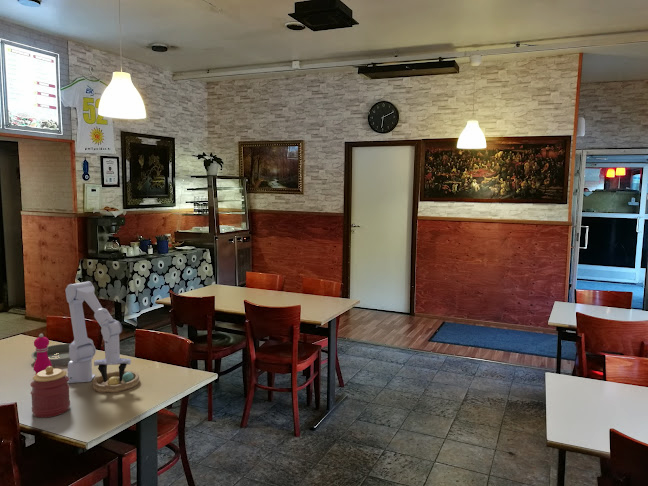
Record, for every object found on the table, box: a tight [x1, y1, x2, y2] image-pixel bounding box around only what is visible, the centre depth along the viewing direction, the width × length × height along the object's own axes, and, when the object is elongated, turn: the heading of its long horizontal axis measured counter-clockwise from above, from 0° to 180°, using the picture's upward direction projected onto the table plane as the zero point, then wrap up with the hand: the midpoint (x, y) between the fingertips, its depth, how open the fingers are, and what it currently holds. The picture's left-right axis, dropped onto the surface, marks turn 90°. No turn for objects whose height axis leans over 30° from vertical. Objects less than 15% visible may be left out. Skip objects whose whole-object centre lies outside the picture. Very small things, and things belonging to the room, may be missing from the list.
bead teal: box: [123, 372, 134, 383], centre depth 216 cm, size 5×5×5 cm
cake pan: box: [31, 343, 82, 367], centre depth 247 cm, size 25×25×4 cm
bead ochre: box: [108, 377, 119, 385], centre depth 211 cm, size 5×5×5 cm
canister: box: [30, 366, 71, 418], centre depth 189 cm, size 13×13×18 cm
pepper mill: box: [33, 333, 53, 375], centre depth 223 cm, size 7×7×20 cm
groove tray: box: [92, 369, 140, 394], centre depth 216 cm, size 18×18×3 cm
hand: (113, 381), depth 211 cm, fingers open, 6 cm apart
